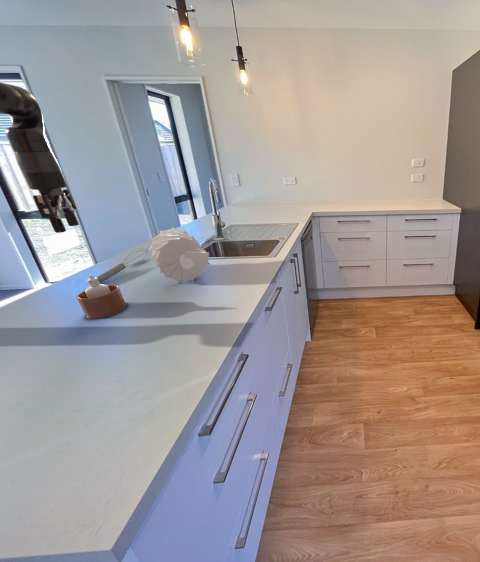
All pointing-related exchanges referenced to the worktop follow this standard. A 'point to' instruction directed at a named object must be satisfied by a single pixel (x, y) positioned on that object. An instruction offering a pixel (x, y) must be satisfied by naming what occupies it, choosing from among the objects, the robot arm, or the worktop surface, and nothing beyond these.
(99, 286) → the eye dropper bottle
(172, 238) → the spiral staircase
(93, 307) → the cup
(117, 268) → the kitchen whisk
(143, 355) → the worktop surface
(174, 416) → the worktop surface
